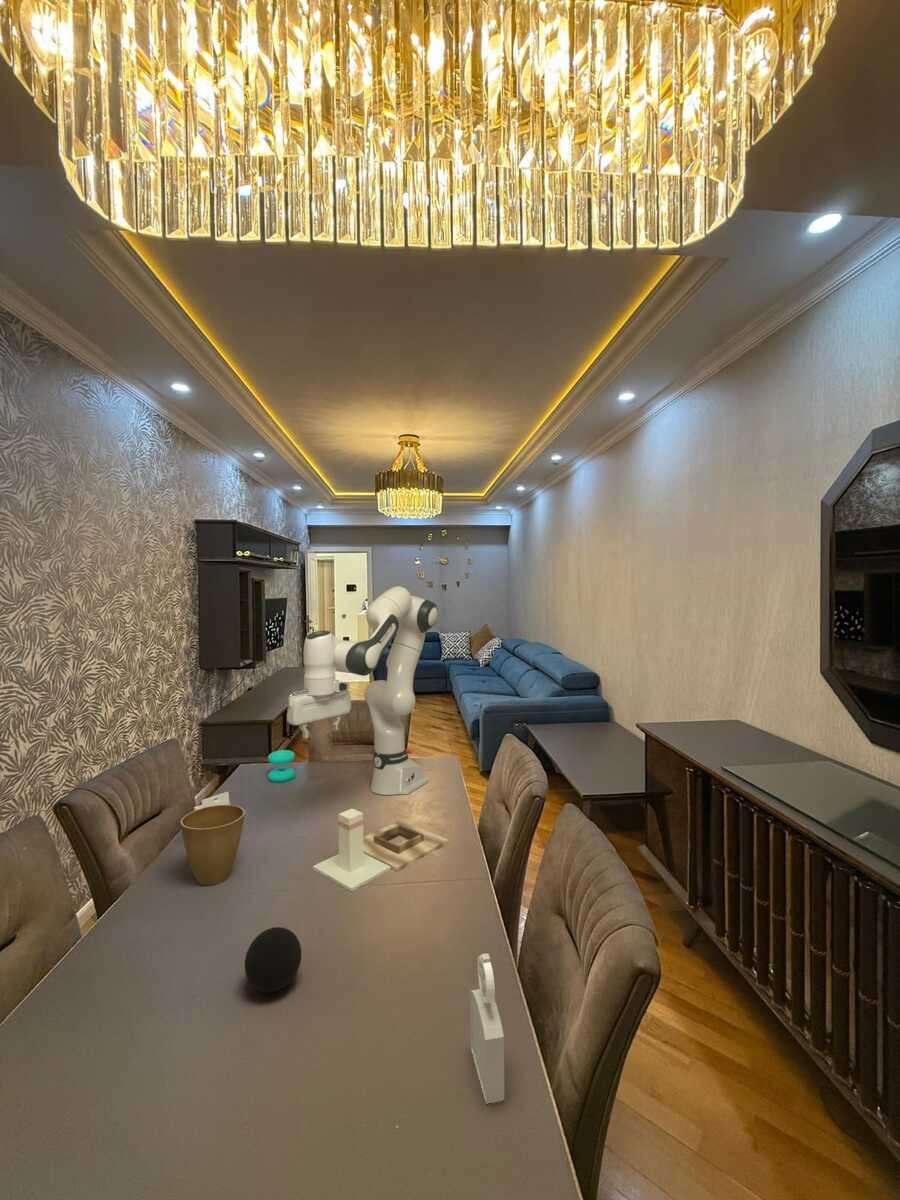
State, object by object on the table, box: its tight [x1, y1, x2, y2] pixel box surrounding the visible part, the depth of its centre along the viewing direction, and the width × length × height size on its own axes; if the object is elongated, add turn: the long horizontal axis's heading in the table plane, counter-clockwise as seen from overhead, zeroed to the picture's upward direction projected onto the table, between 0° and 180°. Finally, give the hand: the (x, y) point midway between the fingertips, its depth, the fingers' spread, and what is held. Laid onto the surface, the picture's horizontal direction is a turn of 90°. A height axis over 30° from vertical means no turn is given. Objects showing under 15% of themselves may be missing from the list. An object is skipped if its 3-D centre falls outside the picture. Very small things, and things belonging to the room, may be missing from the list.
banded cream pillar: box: [337, 808, 365, 873], centre depth 138 cm, size 5×5×14 cm
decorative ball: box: [244, 926, 302, 993], centre depth 98 cm, size 10×10×10 cm
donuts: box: [267, 749, 296, 783], centre depth 206 cm, size 10×10×10 cm
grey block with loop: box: [469, 953, 505, 1105], centre depth 80 cm, size 3×9×18 cm, turn 11°
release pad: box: [312, 853, 392, 892], centre depth 139 cm, size 13×16×1 cm
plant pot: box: [180, 804, 246, 886], centre depth 135 cm, size 15×15×16 cm
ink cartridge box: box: [193, 791, 231, 811], centre depth 153 cm, size 9×5×15 cm, turn 143°
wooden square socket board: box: [363, 819, 449, 872], centre depth 151 cm, size 20×20×3 cm
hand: (320, 734), depth 155 cm, fingers open, 8 cm apart
